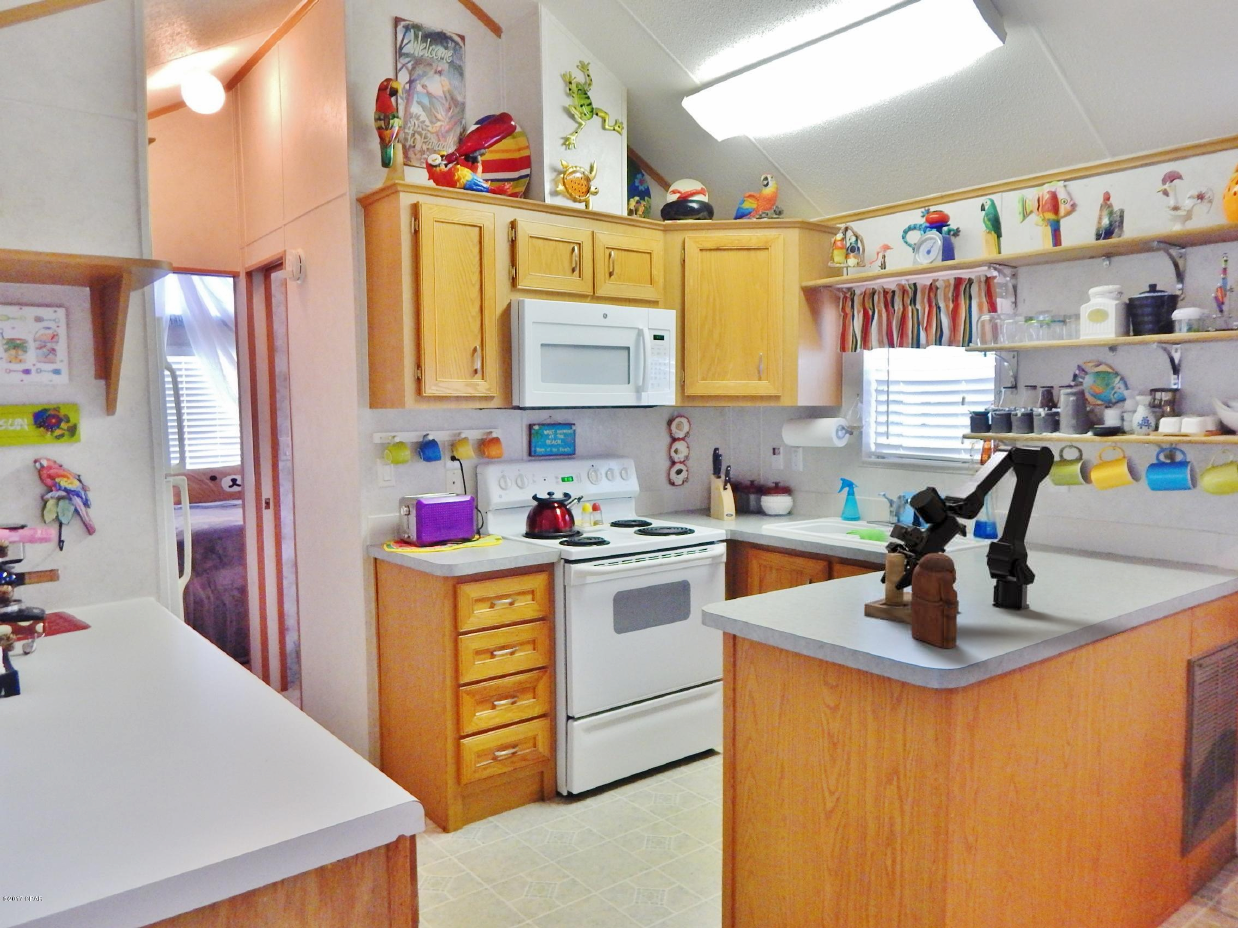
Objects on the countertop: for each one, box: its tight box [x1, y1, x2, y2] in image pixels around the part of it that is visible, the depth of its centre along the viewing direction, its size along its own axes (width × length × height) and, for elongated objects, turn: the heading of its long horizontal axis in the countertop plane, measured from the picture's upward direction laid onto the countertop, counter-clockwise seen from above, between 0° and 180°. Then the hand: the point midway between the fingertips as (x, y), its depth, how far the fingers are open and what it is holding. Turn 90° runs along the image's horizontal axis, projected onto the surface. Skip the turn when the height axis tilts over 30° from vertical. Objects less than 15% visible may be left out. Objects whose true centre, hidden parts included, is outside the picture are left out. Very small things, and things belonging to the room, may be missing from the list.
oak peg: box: [884, 552, 905, 608], centre depth 196 cm, size 4×4×14 cm
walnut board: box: [863, 591, 960, 625], centre depth 200 cm, size 13×20×2 cm, turn 134°
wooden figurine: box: [910, 552, 958, 649], centre depth 174 cm, size 12×6×18 cm, turn 21°
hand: (888, 585), depth 196 cm, fingers open, 7 cm apart
